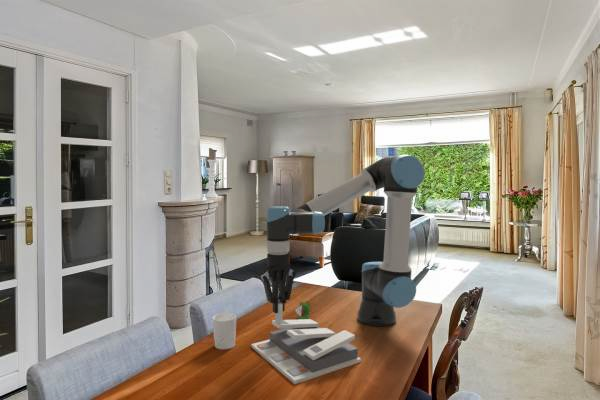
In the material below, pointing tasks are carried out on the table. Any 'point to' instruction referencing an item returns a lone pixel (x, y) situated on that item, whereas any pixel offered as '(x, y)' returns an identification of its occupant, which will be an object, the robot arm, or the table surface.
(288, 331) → the bar
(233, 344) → the white cup
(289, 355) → the switch unit
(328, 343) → the rocker
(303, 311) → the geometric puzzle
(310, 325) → the rocker
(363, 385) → the table surface
